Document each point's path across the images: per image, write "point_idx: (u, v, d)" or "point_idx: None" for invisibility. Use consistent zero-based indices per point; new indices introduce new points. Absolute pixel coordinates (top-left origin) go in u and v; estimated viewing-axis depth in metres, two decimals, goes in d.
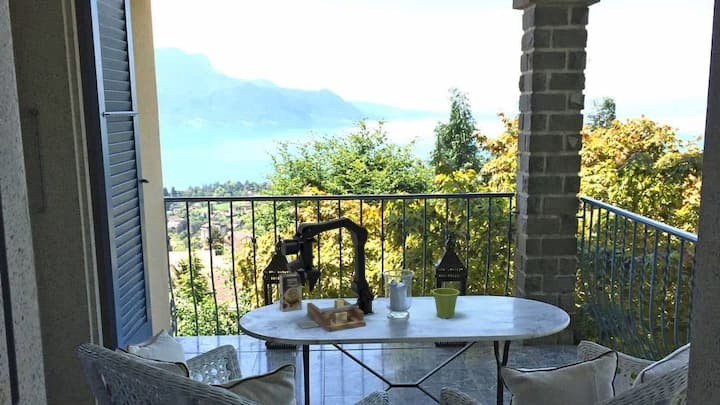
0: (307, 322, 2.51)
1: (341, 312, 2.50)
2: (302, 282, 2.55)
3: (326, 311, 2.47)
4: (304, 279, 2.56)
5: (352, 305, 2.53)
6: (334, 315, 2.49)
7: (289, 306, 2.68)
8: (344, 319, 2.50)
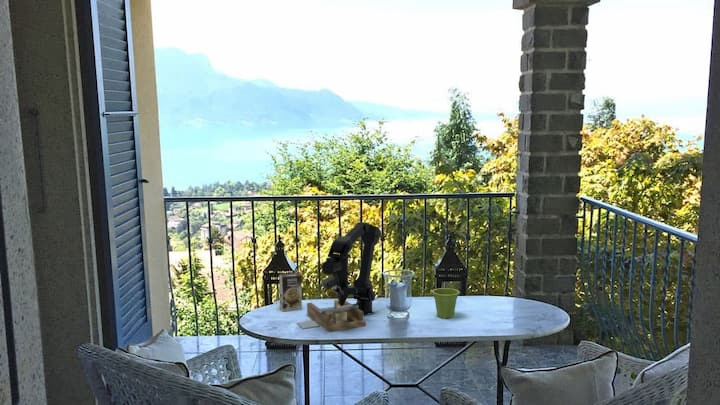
0: (307, 322, 2.51)
1: (341, 312, 2.50)
2: None
3: (326, 311, 2.47)
4: None
5: (352, 305, 2.54)
6: (334, 315, 2.49)
7: (289, 306, 2.68)
8: (344, 319, 2.50)
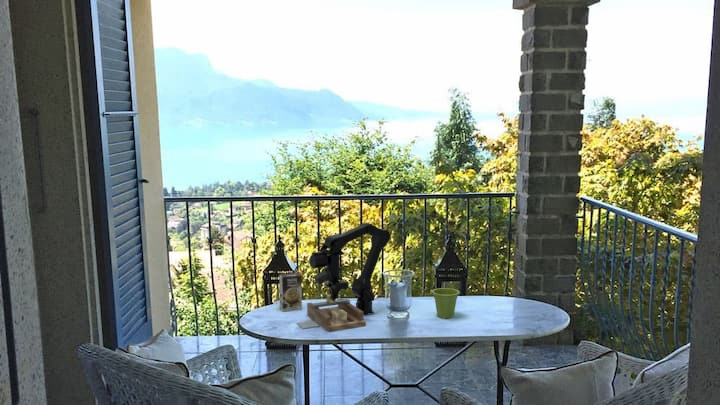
0: (307, 322, 2.51)
1: (341, 312, 2.50)
2: None
3: (318, 305, 2.55)
4: None
5: (344, 300, 2.61)
6: (334, 315, 2.49)
7: (289, 306, 2.68)
8: (344, 319, 2.50)
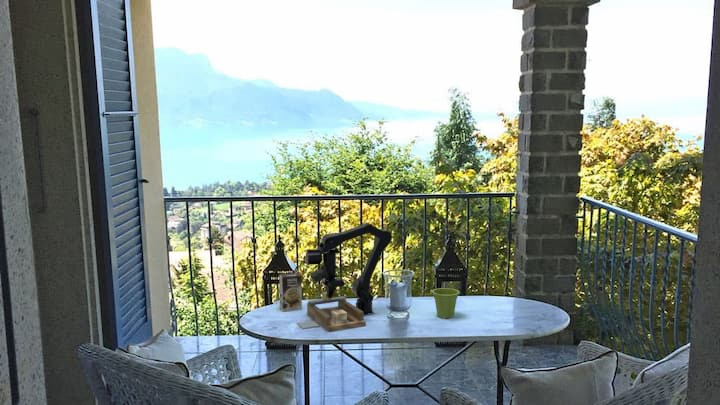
0: (307, 322, 2.51)
1: (341, 312, 2.50)
2: None
3: (315, 303, 2.58)
4: None
5: (340, 297, 2.65)
6: (334, 315, 2.49)
7: (289, 306, 2.68)
8: (344, 319, 2.50)
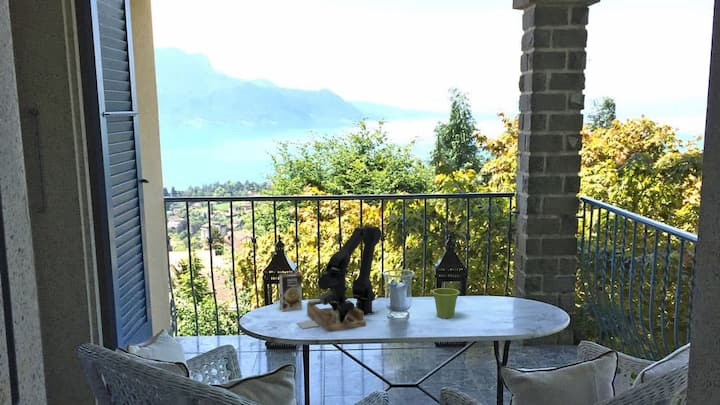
0: (307, 322, 2.51)
1: None
2: None
3: (315, 303, 2.58)
4: None
5: None
6: (334, 315, 2.49)
7: (289, 306, 2.68)
8: (344, 319, 2.50)
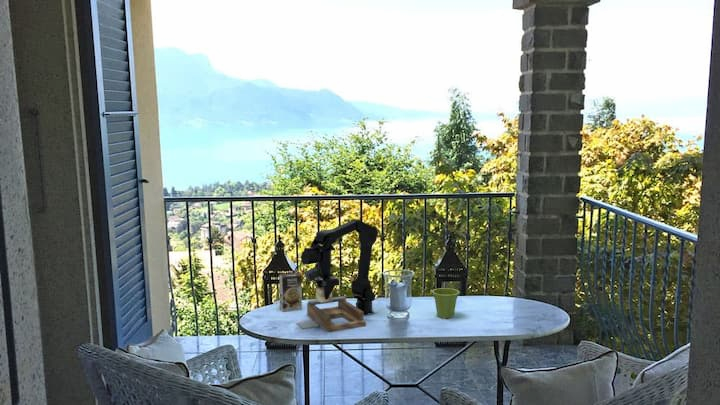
0: (307, 322, 2.51)
1: None
2: None
3: (315, 303, 2.58)
4: None
5: (340, 297, 2.65)
6: (319, 292, 2.46)
7: (289, 306, 2.68)
8: (329, 296, 2.47)
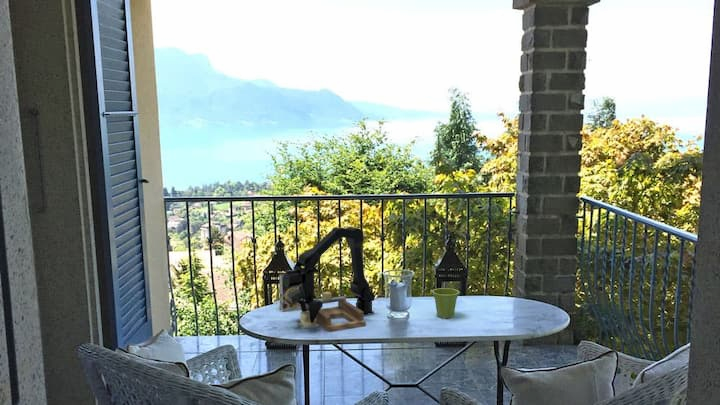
0: None
1: None
2: None
3: None
4: (305, 309, 2.53)
5: (340, 297, 2.65)
6: (303, 316, 2.46)
7: (289, 306, 2.68)
8: None
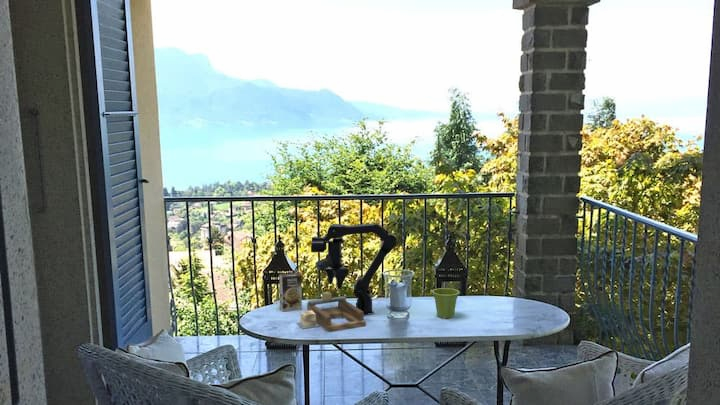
0: None
1: (310, 313, 2.47)
2: (329, 280, 2.68)
3: (315, 303, 2.58)
4: (331, 277, 2.69)
5: (340, 297, 2.65)
6: (303, 316, 2.46)
7: (289, 306, 2.68)
8: (312, 320, 2.47)
